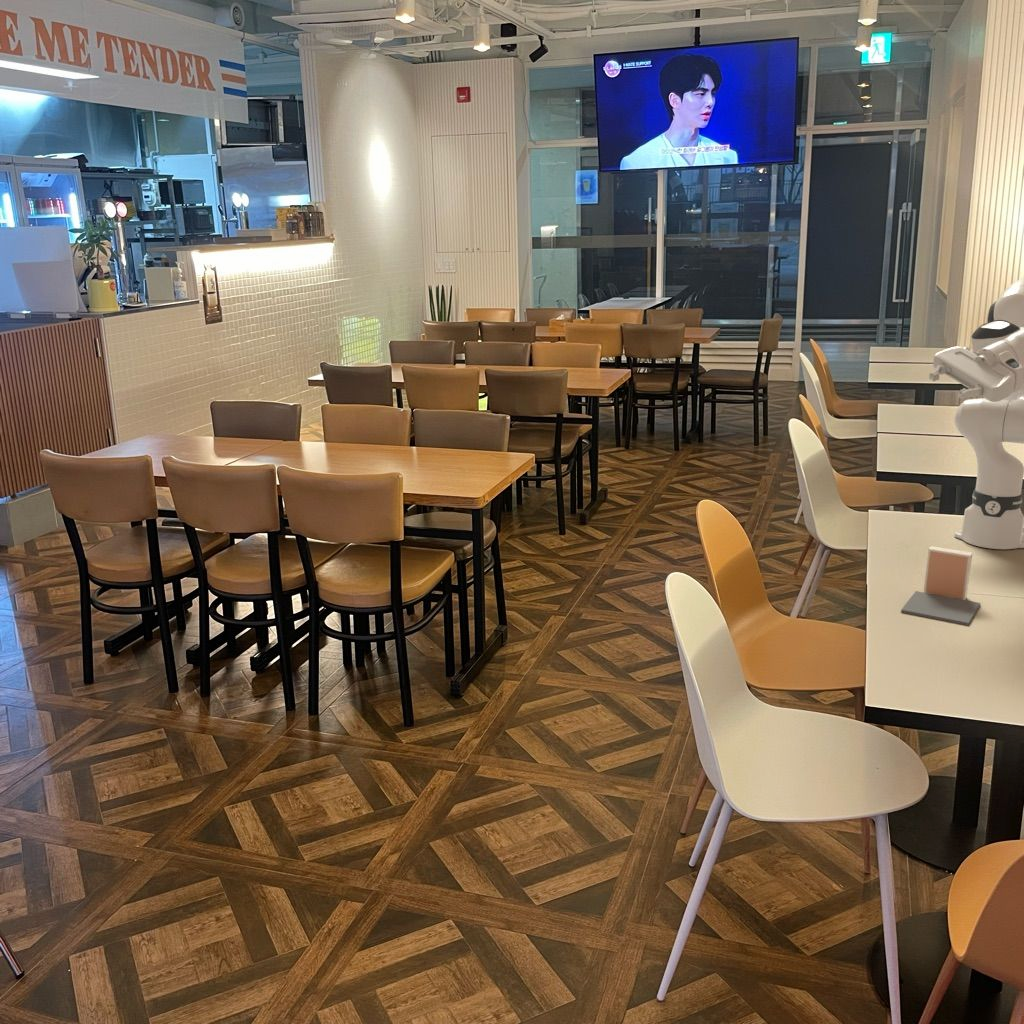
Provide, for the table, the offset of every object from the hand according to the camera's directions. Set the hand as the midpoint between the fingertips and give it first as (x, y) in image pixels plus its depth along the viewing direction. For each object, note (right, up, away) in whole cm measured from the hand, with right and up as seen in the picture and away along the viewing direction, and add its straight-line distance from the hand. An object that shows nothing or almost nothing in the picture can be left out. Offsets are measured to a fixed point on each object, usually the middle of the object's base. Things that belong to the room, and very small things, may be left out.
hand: (945, 386), depth 230 cm
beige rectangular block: (0, -49, +1) cm, 49 cm away
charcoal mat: (-4, -51, -7) cm, 52 cm away
